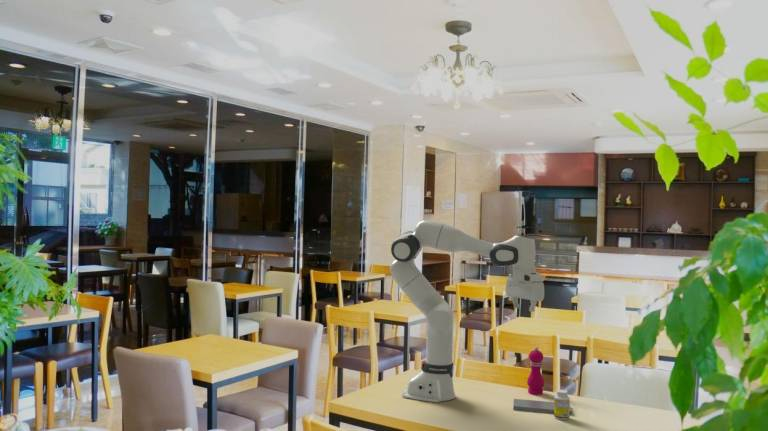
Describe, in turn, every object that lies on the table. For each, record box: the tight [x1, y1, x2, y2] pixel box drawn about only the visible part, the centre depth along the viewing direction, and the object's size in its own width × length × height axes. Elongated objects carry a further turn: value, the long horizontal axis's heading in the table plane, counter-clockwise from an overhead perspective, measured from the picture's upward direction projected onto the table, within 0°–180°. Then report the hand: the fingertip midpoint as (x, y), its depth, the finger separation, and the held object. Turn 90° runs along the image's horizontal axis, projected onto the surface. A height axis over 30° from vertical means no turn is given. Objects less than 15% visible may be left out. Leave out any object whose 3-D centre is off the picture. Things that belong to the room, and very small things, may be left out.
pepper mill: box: [526, 346, 545, 396], centre depth 259 cm, size 7×7×20 cm
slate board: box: [512, 398, 573, 416], centre depth 238 cm, size 22×10×2 cm, turn 77°
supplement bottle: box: [553, 389, 571, 421], centre depth 227 cm, size 6×6×10 cm
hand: (523, 309), depth 239 cm, fingers open, 8 cm apart
